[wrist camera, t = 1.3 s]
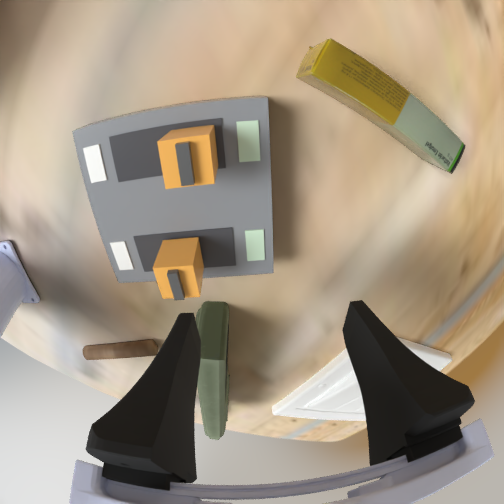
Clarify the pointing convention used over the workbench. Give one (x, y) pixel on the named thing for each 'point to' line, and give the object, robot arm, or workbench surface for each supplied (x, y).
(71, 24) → the workbench surface
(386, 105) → the medication box
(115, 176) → the box
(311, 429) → the workbench surface
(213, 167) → the breaker
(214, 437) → the handheld radio
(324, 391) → the vent cover
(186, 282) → the breaker
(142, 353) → the wooden dowel
